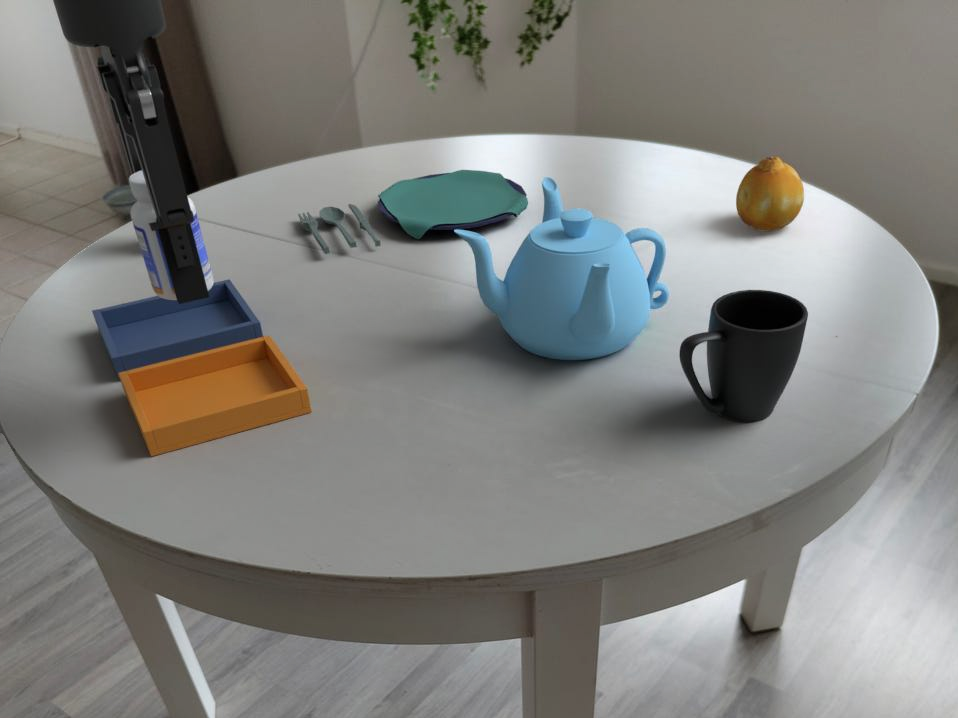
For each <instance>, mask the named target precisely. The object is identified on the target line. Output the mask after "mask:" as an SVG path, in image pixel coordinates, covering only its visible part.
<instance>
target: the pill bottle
mask: <svg viewBox="0 0 958 718" xmlns="http://www.w3.org/2000/svg"><path fill="white" fill-rule="evenodd" d="M130 175H131V174H130ZM128 184H129V187H130V191H131V194H132V197H133V198H134V199H136V201H135V202H134V204H133V205H132V206H131V209H130V218H131V222H132V225H133V228H134V229H133V230H134V232H135V235H136V239H137V242H138V245H139V248H140V252H141V254H142V258H143V261H144V264H145V268H146V272H147V275H148V278H149V281H150V285H151V287H152V290H153V292H154V294H155V296H159V297H161V298H163V299H167V300H177V298H176V295H175V291H174V288H173V284H172V281H171V277H170V274H169V270H168V267H167V263H166V259H165V256H164V252H163V249H162V245H161V242H160V238H159V235H158V231H157V230H156V231H151V229H150V226H149V223H152V222H156V214H155V211H154V208H153V204H152V201H151V198H150V195H149V191H148V188H147V185H146V182H145V178H144V175H143V172H142V170H141V171H138V172H136V173H134V174H132V175H131V176H129V177H128ZM187 197H188V196H187ZM188 201H189V205H190V209H191V210H192V212H193V215H194V217H193V218H194V221H193V222H191V227H192V231H193V235H194V239H195V243H196V247H197V250H198V254H199V258H200V262H201V266H202V270H203V274H204V278H205V282H206V286H207V289H208V291H209V290H210V289H211V288H212V286H213V284H214V283H215V282H214V275H213V271H212V268H211V264H210V260H209V256H208V252H207V248H206V245H205V241H204V238H203V233H202V229H201V225H200V222H199V218H198V213H197V210H196V206H195V203H194V202H193V200H192V199H191V198H190V197H188Z"/></svg>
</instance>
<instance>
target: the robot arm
mask: <svg viewBox="0 0 958 718" xmlns="http://www.w3.org/2000/svg"><path fill="white" fill-rule="evenodd" d="M52 1H53V5H54V8H55V11H56V14H57V18H58V21H59V24H60V28H61V31H62V35H63V36H64V38H65V40H66V41H67V42H68V43H70V44H72V45H74V46H77V47H84V48H97V47H100V53H101V55H99V56H97V57H96V60H97V62H96V64H97V65H96V70H97V74H98V77H99V82H100V84H101V85H102V88H103V90H104V92H106V96H107V100H108V103H109V107H110V111H111V114H112V116H113V118H114V121H115V122H116V126H117V130H118V132H119V136H120V140H121V143H122V146H123V150H124V154H125V158H126V161H127V164H128V168H129V171H130V176H131V175H132V174H134V173H136V172H138V171H141V170H142V172H143V175H144V178H145V182H146V185H147V188H148V191H149V195H150V198H151V201H152V204H153V208H154V211H155V214H156V222H152V223H149V226H150V229H151V231H156V230H157V231H158V235H159V238H160V242H161V245H162V249H163V252H164V256H165V259H166V263H167V267H168V270H169V274H170V277H171V281H172V284H173V288H174V291H175V295H176V298H177V301H178V303H179V304H182V303H186V302H191V301H195V300H199V299H203V298H208V297H209V293H208V289H207V286H206V282H205V278H204V274H203V270H202V266H201V262H200V258H199V254H198V250H197V247H196V243H195V239H194V235H193V231H192V227H191V222H193V221H194V218H193V217H194V215H193V212H192V210H191V209H190V205H189V201H188V194H187V189H186V186H185V182H184V178H183V174H182V170H181V166H180V162H179V159H178V156H177V151H176V147H175V143H174V140H173V139H174V138H173V135H172V132H171V128H170V124H169V119H168V115H167V110H166V105H165V100H164V99H165V94H164V92H163V90H162V89H161V82H160V79H159V74H158V71H157V69H156V66H155V64H150V61H149V58H147V57H146V58H145V56H144V53H143V51H142V47H141V44H142V43H143V42H144V41H145V40H153V39H154V38H157V37H158V36H160V35H162V34H163V33H164V31H165V30H166V26H167V23H166V17H165V13H164V9H163V5H162V1H161V0H52ZM130 176H129V177H130Z"/></svg>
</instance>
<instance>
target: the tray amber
mask: <svg viewBox="0 0 958 718" xmlns="http://www.w3.org/2000/svg"><path fill="white" fill-rule="evenodd" d="M118 375H119V377H120V380H121V381H120V383H121V386H122V389H123V391H124V395H125V397H126V400H127V402H128V404H129V407H130V410H131V412H132V415H133V417H134V419H135V422H136V424H137V425H138V428H139V431H140V433H141V436H142V438H143V441H144V443H145V446H146V448H147V450H148V452H149V455H150V457H155V456H158V455H162V454H166V453H169V452H174V451H177V450H181V449H184V448H188V447H191V446H195V445H198V444H202V443H205V442H209V441H213V440H216V439H217V440H218V439H220V438H225V437H227V436H231V435H234V434H238V433H241V432H245V431H249V430H252V429H256V428H259V427H263V426H267V425H271V424H274V423H277V422H281V421H284V420H288V419H293V418H296V417H299V416H302V415H306V414H310V413H312V407H311V401H310V396H309V390H308V387H307V386H306V385H305V384H304V382H303V380H302V379H301V377H300V376H299V375H298V374H297V372H296V371H295V369H294V368H293V366H292V365H291V363H290V362H289V361H288V360H287V358H286V356H285V355H284V353H283V352H282V350H280V348H279V347H278V345H277V344H276V342H275V341H274V340H273V338H272V337H271V336H270V334H268V335H263V337H260V338H256V339H252V340H248V341H244V342H240V343H236V344H232V345H228V346H224V347H220V348H216V349H212V350H208V351H204V352H200V353H196V354H192V355H188V356H184V357H180V358H176V359H172V360H168V361H164V362H160V363H156V364H152V365H148V366H144V367H140V368H136V369H132V370H128V371H124V372H120V373H118Z"/></svg>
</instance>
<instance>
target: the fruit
mask: <svg viewBox="0 0 958 718" xmlns="http://www.w3.org/2000/svg"><path fill="white" fill-rule="evenodd" d="M804 200H805V190H804V184H803V181H802V179H801V177H800V175H799V173H798V172H797V171H796V169H795V168H794V167H792V166H791V165H790V164H788V163H786V162H783V161H782V160H781V158H780V157H778V156H774V157H773V156H770V157H766V158H764V159H761V160H760V161H759V162H758V164H756V165H754V166H753V167H751V168H750V169H749V170H748V171H747V172H746V173H745V175H744V176H743V178H742V179H741V181H740V184H739V186H738V189H737V191H736V197H735V207H736V208H735V209H736V211H737V215H738V216H739V218H740V220H741V221H742V222H743V223H744V224H745V225H747V226H748V227H750V228H752V229H753V230H756V231H761V232H772V231H776V230H777V231H778V230H781V229H784V228H785V227H787V226H789V225H790V224H792V222H794V220H795V219H796V218H797V217H798V215H799V214H800V212H801V210H802V207H803V205H804Z"/></svg>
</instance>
